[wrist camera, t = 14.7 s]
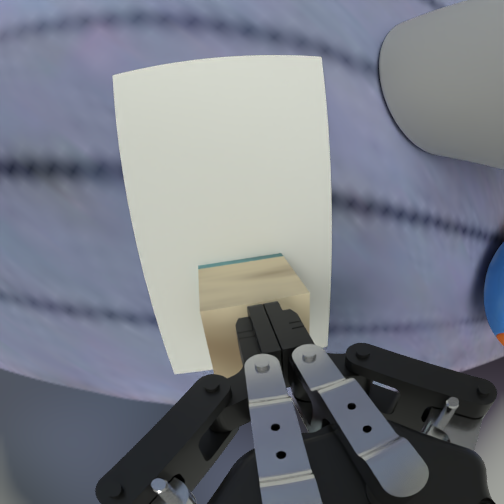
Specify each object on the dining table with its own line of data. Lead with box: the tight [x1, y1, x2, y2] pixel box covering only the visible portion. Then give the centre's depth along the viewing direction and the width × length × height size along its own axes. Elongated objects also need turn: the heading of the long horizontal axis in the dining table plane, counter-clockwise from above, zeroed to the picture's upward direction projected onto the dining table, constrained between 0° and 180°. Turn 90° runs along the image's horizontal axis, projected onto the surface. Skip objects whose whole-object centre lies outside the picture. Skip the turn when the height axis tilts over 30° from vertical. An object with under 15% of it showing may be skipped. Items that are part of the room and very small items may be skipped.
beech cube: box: [198, 253, 310, 378], centre depth 20 cm, size 6×6×6 cm
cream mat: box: [113, 55, 332, 374], centre depth 21 cm, size 24×14×1 cm, turn 5°
